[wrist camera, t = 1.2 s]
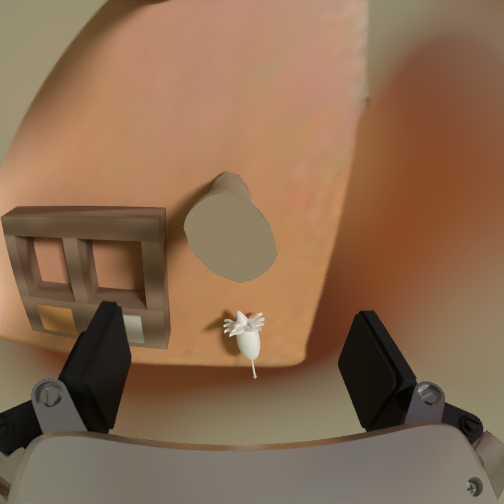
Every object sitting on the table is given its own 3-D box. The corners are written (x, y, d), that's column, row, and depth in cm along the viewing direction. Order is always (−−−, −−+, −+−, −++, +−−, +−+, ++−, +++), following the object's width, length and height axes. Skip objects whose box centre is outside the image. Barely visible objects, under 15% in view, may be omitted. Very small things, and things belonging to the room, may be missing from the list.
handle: (230, 219, 34) (235, 293, 21) (192, 178, 31) (168, 229, 18) (263, 192, 33) (291, 252, 19) (226, 149, 30) (227, 178, 17)
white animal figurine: (220, 303, 39) (220, 326, 35) (260, 297, 39) (265, 319, 35) (236, 363, 44) (237, 386, 40) (269, 357, 44) (274, 380, 40)
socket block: (17, 206, 30) (-1, 217, 26) (165, 207, 33) (157, 221, 29) (43, 314, 38) (32, 331, 34) (170, 329, 40) (166, 350, 37)
